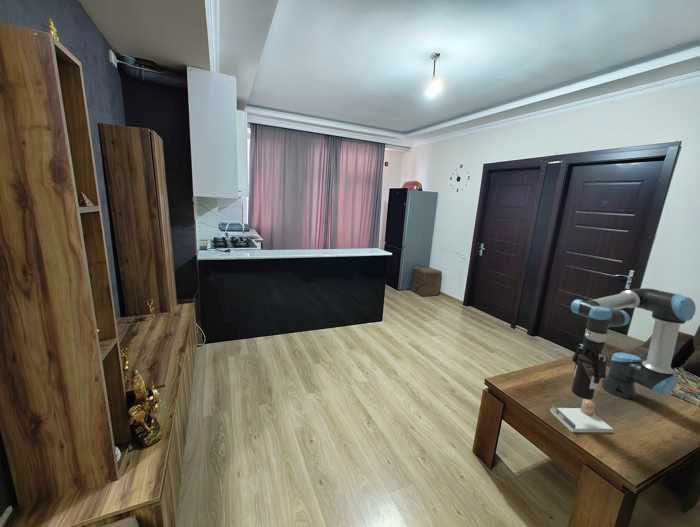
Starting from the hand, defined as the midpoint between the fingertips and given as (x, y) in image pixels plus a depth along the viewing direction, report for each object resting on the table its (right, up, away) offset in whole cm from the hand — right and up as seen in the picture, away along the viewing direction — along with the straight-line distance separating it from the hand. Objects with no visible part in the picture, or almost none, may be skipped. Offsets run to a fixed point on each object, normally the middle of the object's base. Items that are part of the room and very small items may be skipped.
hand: (584, 382), depth 137 cm
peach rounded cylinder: (+8, -19, +8) cm, 22 cm away
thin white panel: (+1, -21, +4) cm, 22 cm away
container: (0, -6, +1) cm, 7 cm away
